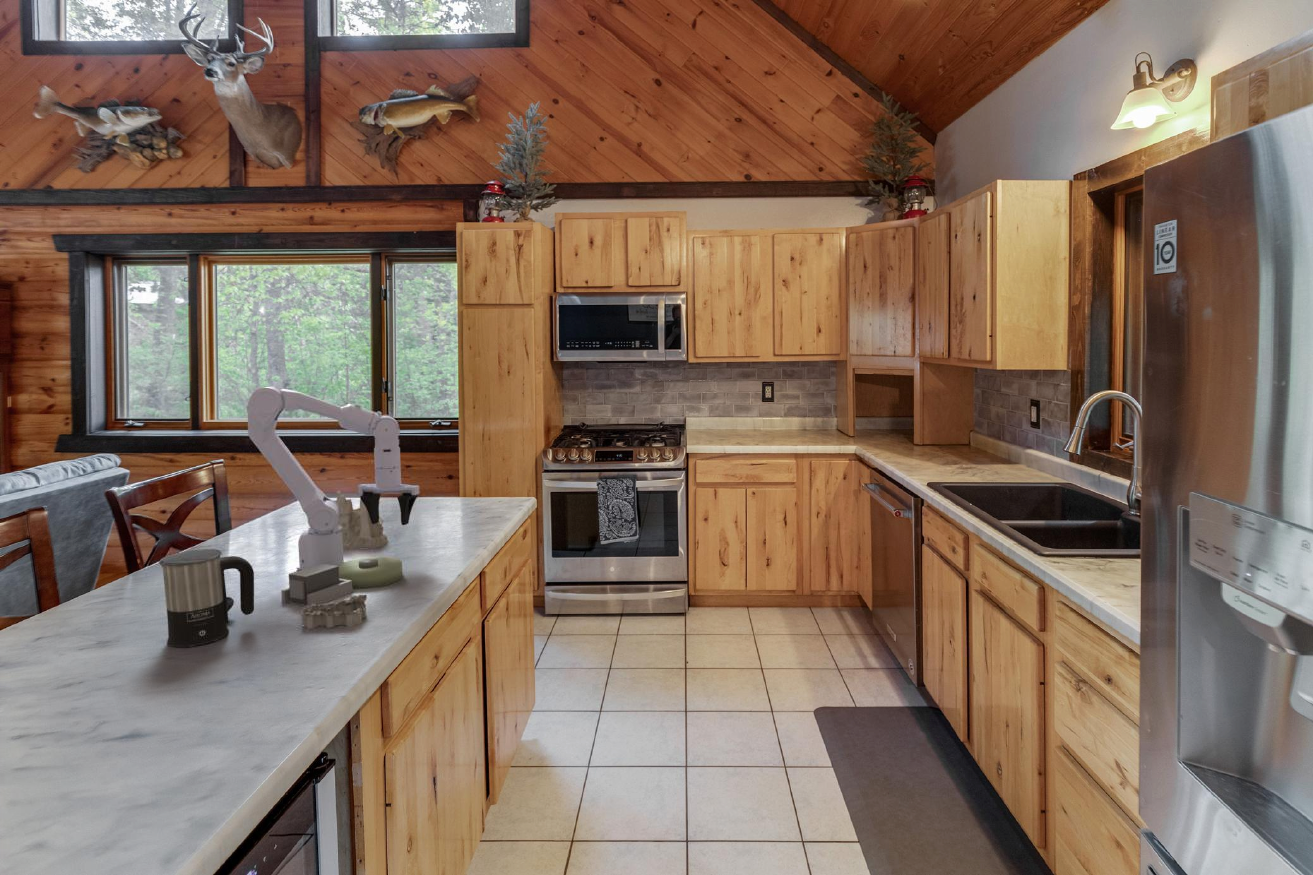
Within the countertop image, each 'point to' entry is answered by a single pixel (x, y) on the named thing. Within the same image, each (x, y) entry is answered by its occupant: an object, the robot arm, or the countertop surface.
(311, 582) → the grey block with ledge
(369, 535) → the ceramic cottage
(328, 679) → the countertop surface
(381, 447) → the robot arm
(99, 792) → the countertop surface
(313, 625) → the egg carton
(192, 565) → the milk frother
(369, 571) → the green disc with bracket
